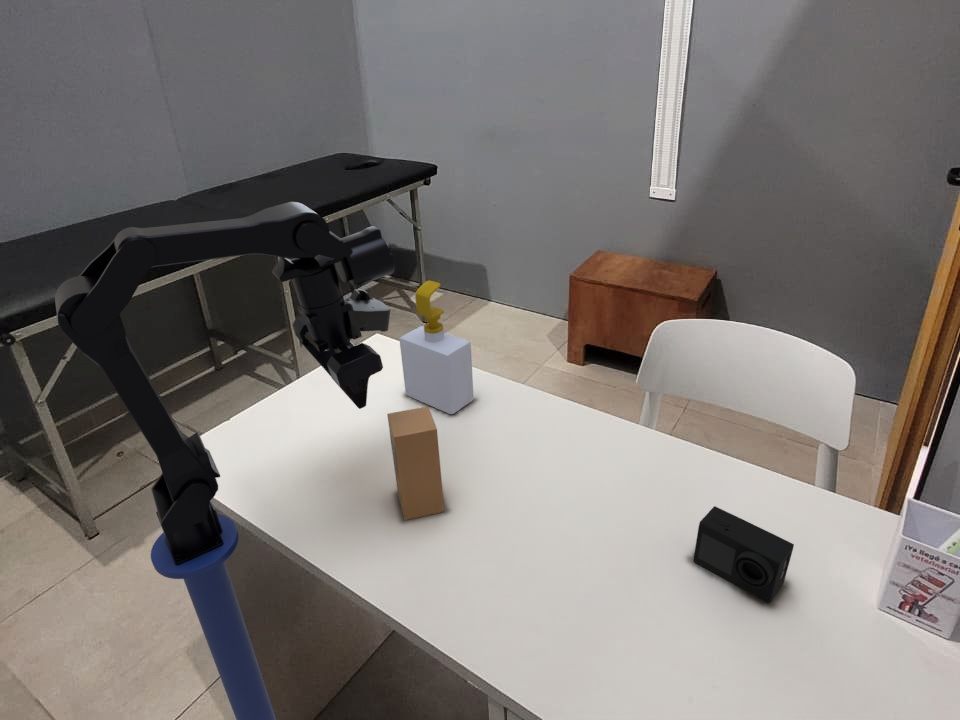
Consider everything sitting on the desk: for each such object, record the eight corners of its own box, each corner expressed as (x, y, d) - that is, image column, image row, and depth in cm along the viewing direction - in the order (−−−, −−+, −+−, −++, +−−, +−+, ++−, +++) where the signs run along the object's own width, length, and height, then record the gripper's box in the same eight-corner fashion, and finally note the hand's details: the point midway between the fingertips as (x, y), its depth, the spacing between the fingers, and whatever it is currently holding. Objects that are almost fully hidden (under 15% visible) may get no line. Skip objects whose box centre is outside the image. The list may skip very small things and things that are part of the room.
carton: (404, 520, 95) (393, 437, 87) (397, 494, 100) (386, 413, 93) (444, 511, 96) (437, 428, 89) (436, 486, 101) (428, 405, 94)
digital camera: (687, 566, 85) (693, 526, 82) (707, 543, 89) (713, 504, 85) (765, 610, 79) (775, 569, 75) (783, 583, 82) (794, 543, 79)
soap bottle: (475, 400, 122) (469, 285, 111) (452, 416, 118) (443, 298, 106) (427, 381, 129) (417, 270, 118) (404, 395, 125) (391, 282, 113)
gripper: (406, 299, 82) (428, 398, 91) (349, 258, 96) (373, 347, 104) (324, 332, 78) (355, 432, 86) (277, 284, 92) (308, 374, 100)
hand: (349, 392), depth 94 cm, fingers open, 9 cm apart
